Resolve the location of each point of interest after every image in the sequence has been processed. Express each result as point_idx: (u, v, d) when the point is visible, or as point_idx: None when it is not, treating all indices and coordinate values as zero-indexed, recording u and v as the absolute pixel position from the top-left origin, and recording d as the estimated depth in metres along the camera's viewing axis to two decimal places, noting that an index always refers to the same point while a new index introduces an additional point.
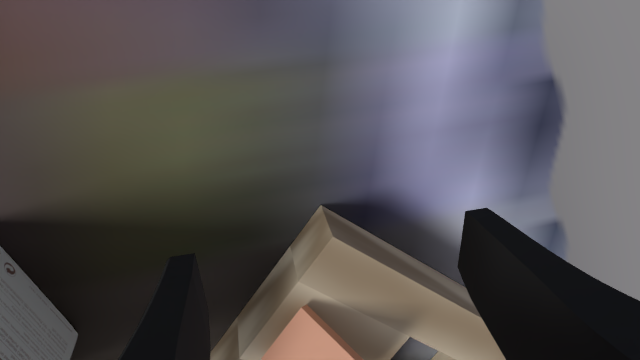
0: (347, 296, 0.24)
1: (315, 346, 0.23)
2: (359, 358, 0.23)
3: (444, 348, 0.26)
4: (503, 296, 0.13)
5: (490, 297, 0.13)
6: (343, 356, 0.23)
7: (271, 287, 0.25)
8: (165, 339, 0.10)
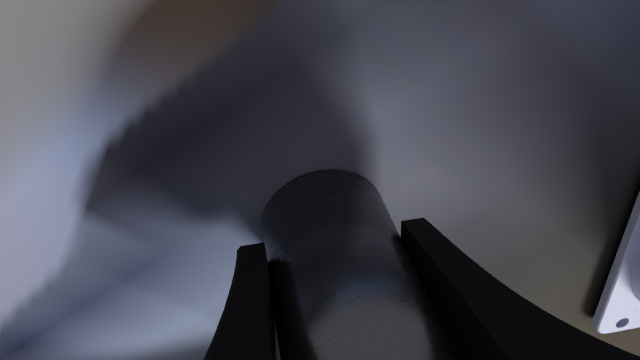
0: None
1: None
2: None
3: None
4: None
5: None
6: None
7: None
8: (255, 323, 0.10)
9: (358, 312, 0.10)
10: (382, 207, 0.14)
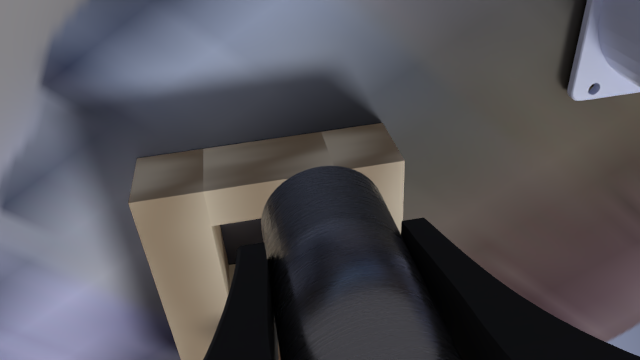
0: None
1: None
2: None
3: (216, 279, 0.21)
4: None
5: None
6: None
7: None
8: (255, 323, 0.10)
9: (359, 303, 0.10)
10: (382, 203, 0.14)
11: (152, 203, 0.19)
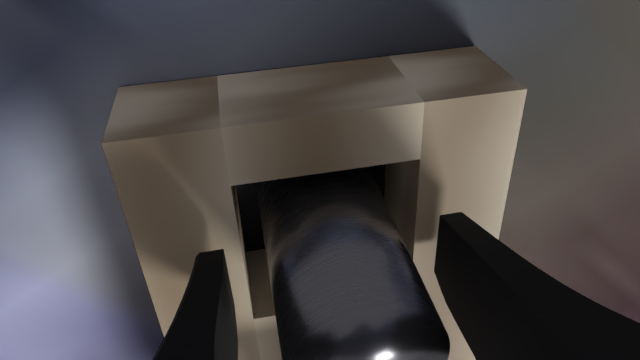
0: None
1: None
2: None
3: (234, 269, 0.14)
4: (475, 301, 0.13)
5: (463, 302, 0.13)
6: None
7: None
8: (202, 333, 0.10)
9: (340, 243, 0.12)
10: None
11: (139, 144, 0.12)
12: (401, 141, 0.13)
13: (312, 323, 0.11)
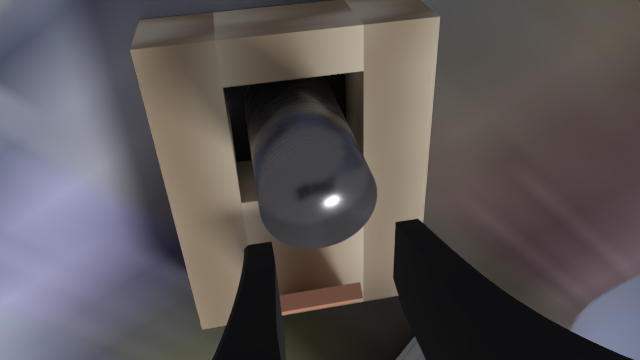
0: None
1: (298, 311, 0.22)
2: None
3: (226, 157, 0.19)
4: (427, 310, 0.12)
5: (417, 310, 0.13)
6: (284, 312, 0.21)
7: None
8: (264, 322, 0.10)
9: (300, 120, 0.17)
10: (327, 84, 0.20)
11: (157, 51, 0.17)
12: (348, 55, 0.18)
13: (277, 164, 0.15)
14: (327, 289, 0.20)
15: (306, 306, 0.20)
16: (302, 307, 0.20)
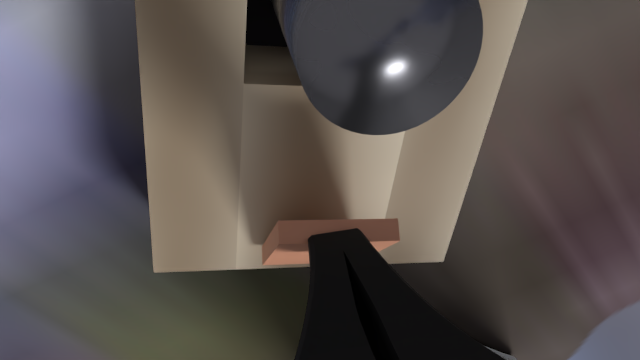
0: (224, 210, 0.16)
1: (296, 257, 0.16)
2: (274, 234, 0.14)
3: (236, 2, 0.13)
4: (360, 322, 0.12)
5: None
6: (281, 251, 0.15)
7: None
8: (344, 308, 0.11)
9: None
10: None
11: None
12: None
13: None
14: (351, 221, 0.14)
15: None
16: None
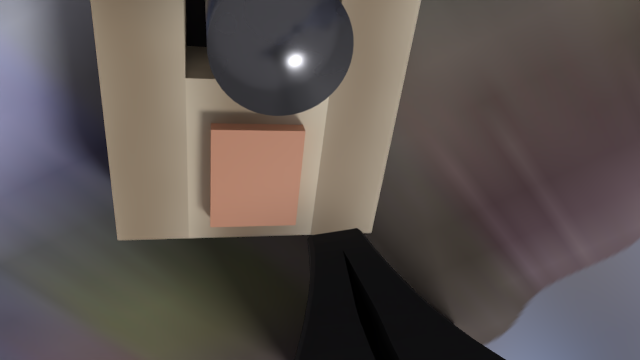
0: (175, 186, 0.19)
1: (234, 191, 0.19)
2: (210, 144, 0.18)
3: (174, 12, 0.16)
4: (359, 322, 0.12)
5: None
6: (217, 163, 0.18)
7: None
8: (344, 308, 0.11)
9: None
10: None
11: None
12: None
13: None
14: (267, 124, 0.19)
15: (242, 130, 0.18)
16: (238, 129, 0.18)
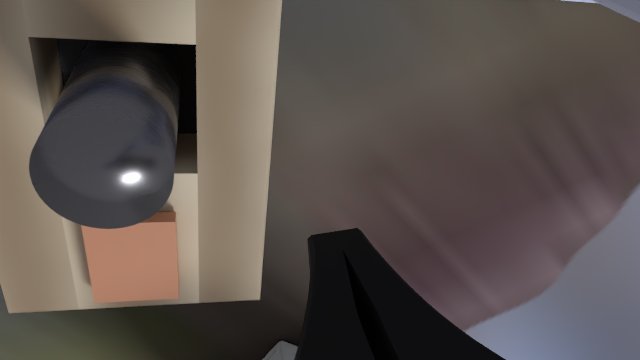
0: (58, 265, 0.20)
1: (113, 273, 0.20)
2: None
3: (34, 119, 0.17)
4: (360, 321, 0.12)
5: None
6: (92, 250, 0.19)
7: None
8: (344, 308, 0.11)
9: (101, 83, 0.15)
10: (168, 58, 0.19)
11: None
12: (178, 24, 0.16)
13: (52, 123, 0.13)
14: None
15: None
16: None
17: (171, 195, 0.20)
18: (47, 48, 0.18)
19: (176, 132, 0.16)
